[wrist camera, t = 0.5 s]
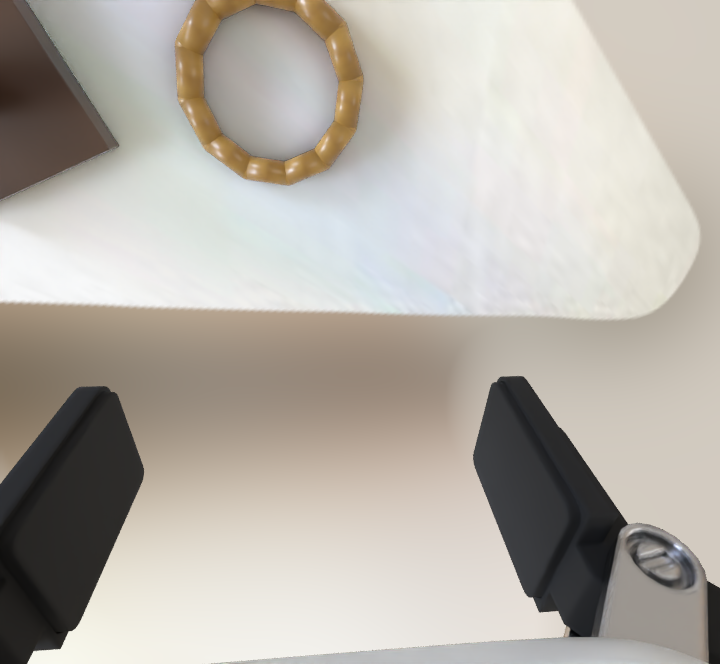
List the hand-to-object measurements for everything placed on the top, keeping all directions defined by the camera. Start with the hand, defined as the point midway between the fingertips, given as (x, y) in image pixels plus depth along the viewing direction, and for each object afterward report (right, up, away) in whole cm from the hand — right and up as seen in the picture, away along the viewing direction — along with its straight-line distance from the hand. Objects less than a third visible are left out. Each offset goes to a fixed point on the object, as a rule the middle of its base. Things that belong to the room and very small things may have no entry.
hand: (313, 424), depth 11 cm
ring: (-3, +14, +9) cm, 17 cm away
